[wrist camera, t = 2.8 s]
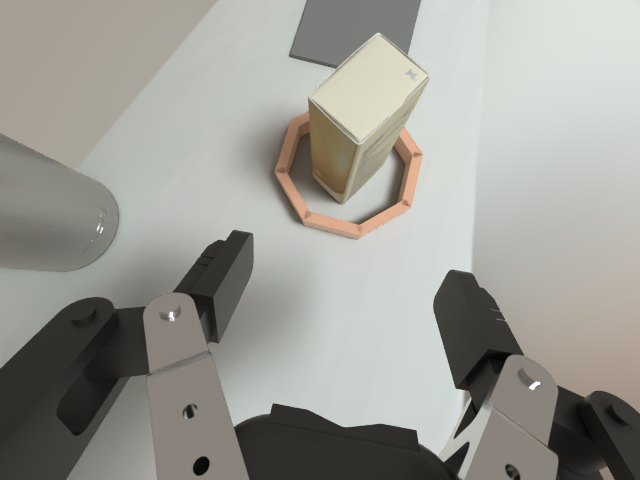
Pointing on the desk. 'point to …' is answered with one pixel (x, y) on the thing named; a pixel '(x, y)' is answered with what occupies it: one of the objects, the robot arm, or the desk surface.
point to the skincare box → (361, 114)
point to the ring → (405, 198)
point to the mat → (351, 27)
